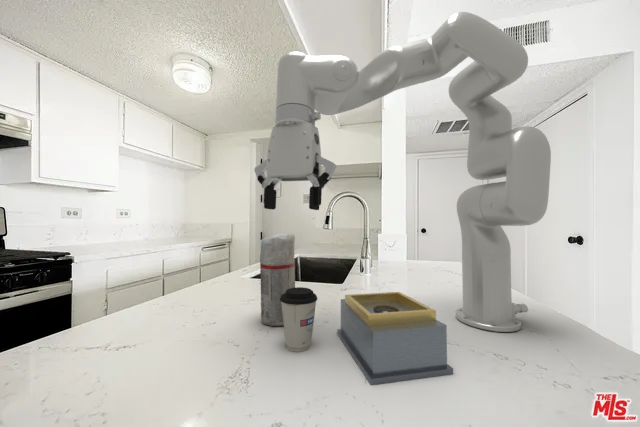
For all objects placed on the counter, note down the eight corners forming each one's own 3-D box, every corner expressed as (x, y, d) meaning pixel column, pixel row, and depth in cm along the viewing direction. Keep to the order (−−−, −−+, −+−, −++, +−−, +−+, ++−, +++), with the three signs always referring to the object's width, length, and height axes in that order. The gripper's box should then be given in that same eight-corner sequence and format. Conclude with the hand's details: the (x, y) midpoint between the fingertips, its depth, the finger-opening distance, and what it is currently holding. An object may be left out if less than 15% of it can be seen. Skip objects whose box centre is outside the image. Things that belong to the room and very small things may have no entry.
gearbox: (337, 333, 53) (337, 291, 53) (402, 327, 56) (401, 287, 56) (370, 385, 36) (370, 323, 36) (461, 372, 39) (460, 315, 39)
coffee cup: (271, 348, 46) (271, 292, 47) (294, 334, 52) (295, 284, 53) (302, 359, 43) (303, 298, 43) (324, 342, 49) (324, 289, 49)
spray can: (289, 329, 55) (290, 234, 55) (253, 326, 56) (254, 234, 57) (300, 315, 63) (301, 233, 64) (268, 312, 65) (269, 232, 65)
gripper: (343, 123, 51) (340, 211, 50) (268, 132, 57) (264, 210, 56) (329, 107, 44) (326, 208, 43) (246, 119, 50) (242, 207, 50)
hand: (291, 209), depth 50 cm, fingers open, 9 cm apart
